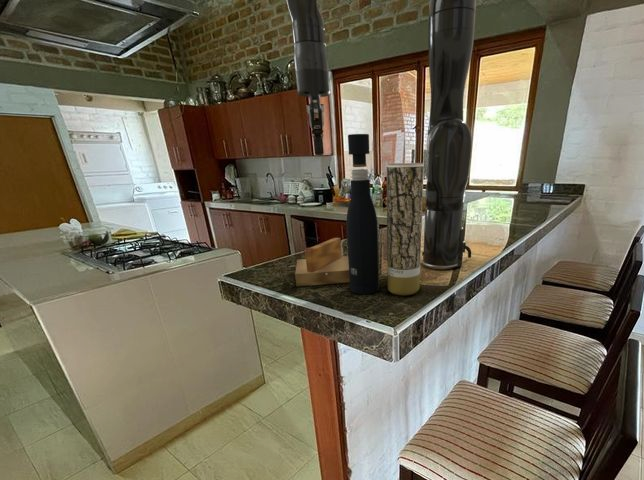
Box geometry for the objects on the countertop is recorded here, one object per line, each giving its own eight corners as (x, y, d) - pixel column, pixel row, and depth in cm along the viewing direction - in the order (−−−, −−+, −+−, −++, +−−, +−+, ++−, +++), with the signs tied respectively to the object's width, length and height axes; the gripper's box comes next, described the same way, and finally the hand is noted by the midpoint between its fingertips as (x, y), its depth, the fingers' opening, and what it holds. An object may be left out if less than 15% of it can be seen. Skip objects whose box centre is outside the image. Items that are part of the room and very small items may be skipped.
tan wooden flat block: (336, 256, 87) (334, 236, 84) (341, 257, 86) (340, 236, 84) (307, 271, 76) (304, 248, 74) (312, 272, 75) (310, 249, 73)
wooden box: (357, 263, 91) (356, 252, 90) (365, 285, 76) (365, 271, 74) (293, 268, 89) (291, 256, 88) (288, 291, 74) (286, 277, 72)
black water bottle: (380, 284, 76) (377, 134, 63) (377, 294, 70) (374, 132, 57) (352, 283, 77) (343, 136, 64) (347, 294, 71) (337, 134, 58)
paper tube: (410, 299, 68) (414, 163, 57) (381, 293, 71) (379, 164, 60) (424, 288, 73) (429, 162, 62) (396, 283, 76) (397, 163, 65)
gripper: (329, 63, 70) (335, 154, 78) (327, 76, 82) (333, 154, 90) (293, 63, 69) (303, 155, 77) (296, 76, 81) (304, 155, 89)
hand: (319, 155), depth 83 cm, fingers closed
